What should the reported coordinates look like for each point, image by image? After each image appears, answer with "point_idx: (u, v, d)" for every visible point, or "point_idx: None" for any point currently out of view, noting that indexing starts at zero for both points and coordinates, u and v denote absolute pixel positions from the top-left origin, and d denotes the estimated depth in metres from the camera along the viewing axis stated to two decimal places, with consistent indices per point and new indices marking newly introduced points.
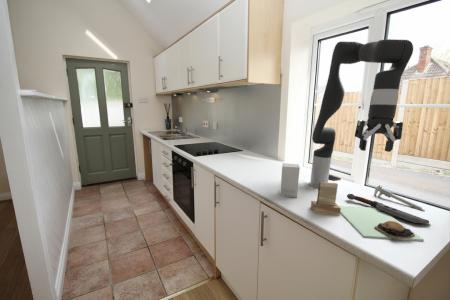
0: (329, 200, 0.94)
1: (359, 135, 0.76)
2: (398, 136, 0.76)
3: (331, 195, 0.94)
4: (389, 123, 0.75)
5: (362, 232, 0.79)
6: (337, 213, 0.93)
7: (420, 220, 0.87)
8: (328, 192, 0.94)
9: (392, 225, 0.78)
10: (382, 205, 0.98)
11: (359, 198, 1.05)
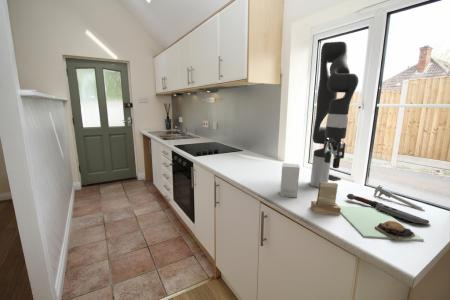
0: (329, 200, 0.94)
1: None
2: None
3: (331, 195, 0.94)
4: None
5: (362, 232, 0.79)
6: (337, 213, 0.93)
7: (420, 220, 0.87)
8: (328, 192, 0.94)
9: (392, 225, 0.78)
10: (382, 205, 0.98)
11: (359, 198, 1.05)
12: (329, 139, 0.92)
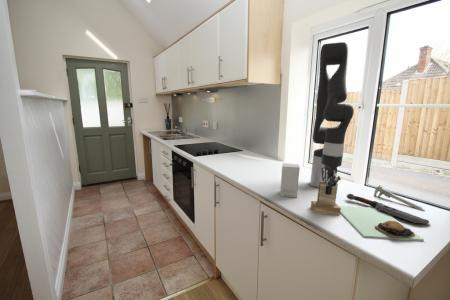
0: (329, 200, 0.94)
1: None
2: None
3: (331, 195, 0.94)
4: None
5: (362, 232, 0.79)
6: (337, 213, 0.93)
7: (420, 220, 0.87)
8: None
9: (392, 224, 0.79)
10: (382, 205, 0.98)
11: (359, 198, 1.04)
12: (325, 165, 0.94)
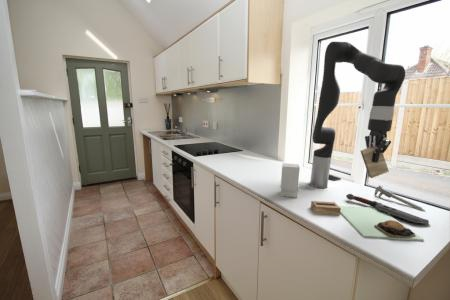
0: (378, 163, 0.89)
1: None
2: None
3: None
4: None
5: (362, 232, 0.79)
6: (337, 213, 0.93)
7: (420, 220, 0.87)
8: None
9: (391, 224, 0.79)
10: (382, 205, 0.98)
11: (358, 198, 1.04)
12: (372, 132, 0.90)
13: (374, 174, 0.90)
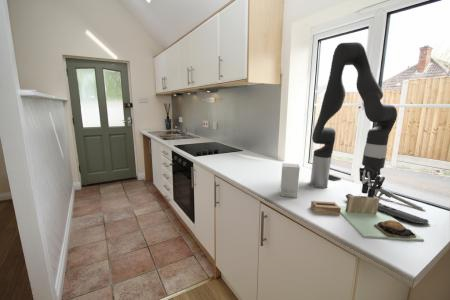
0: (366, 203, 0.93)
1: None
2: None
3: (361, 202, 0.93)
4: None
5: (362, 232, 0.79)
6: (337, 213, 0.93)
7: (420, 220, 0.87)
8: (357, 204, 0.93)
9: (390, 223, 0.79)
10: (381, 205, 0.97)
11: None
12: (366, 167, 0.93)
13: (374, 210, 0.93)
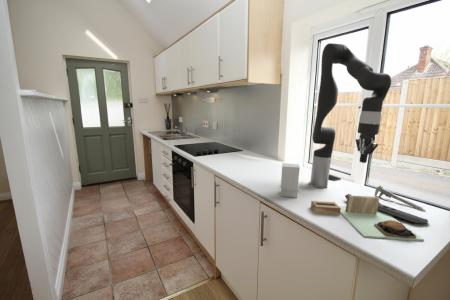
0: (366, 203, 0.93)
1: None
2: None
3: (361, 201, 0.93)
4: None
5: (362, 232, 0.79)
6: (337, 213, 0.93)
7: (420, 219, 0.87)
8: (357, 204, 0.93)
9: (390, 223, 0.79)
10: (381, 205, 0.97)
11: None
12: (361, 135, 0.97)
13: (374, 210, 0.93)
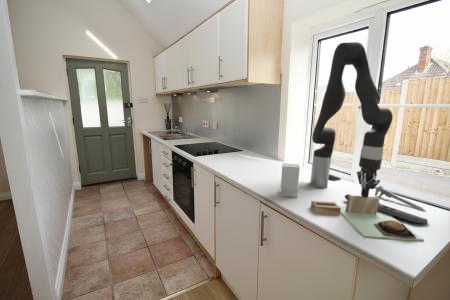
0: (366, 203, 0.93)
1: None
2: None
3: (361, 202, 0.93)
4: None
5: (362, 232, 0.79)
6: (337, 213, 0.93)
7: (420, 219, 0.88)
8: (357, 204, 0.93)
9: (389, 223, 0.80)
10: (381, 205, 0.97)
11: None
12: (363, 168, 0.95)
13: (374, 210, 0.93)
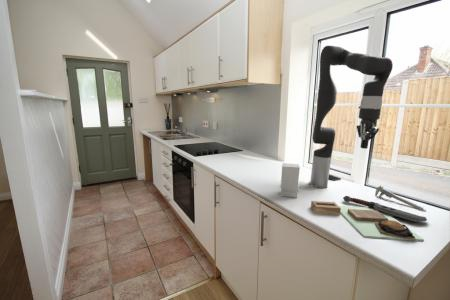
0: None
1: None
2: None
3: None
4: None
5: (362, 232, 0.79)
6: (337, 213, 0.93)
7: (419, 218, 0.88)
8: None
9: (388, 222, 0.80)
10: (380, 205, 0.97)
11: (356, 200, 1.03)
12: (362, 121, 0.97)
13: None
